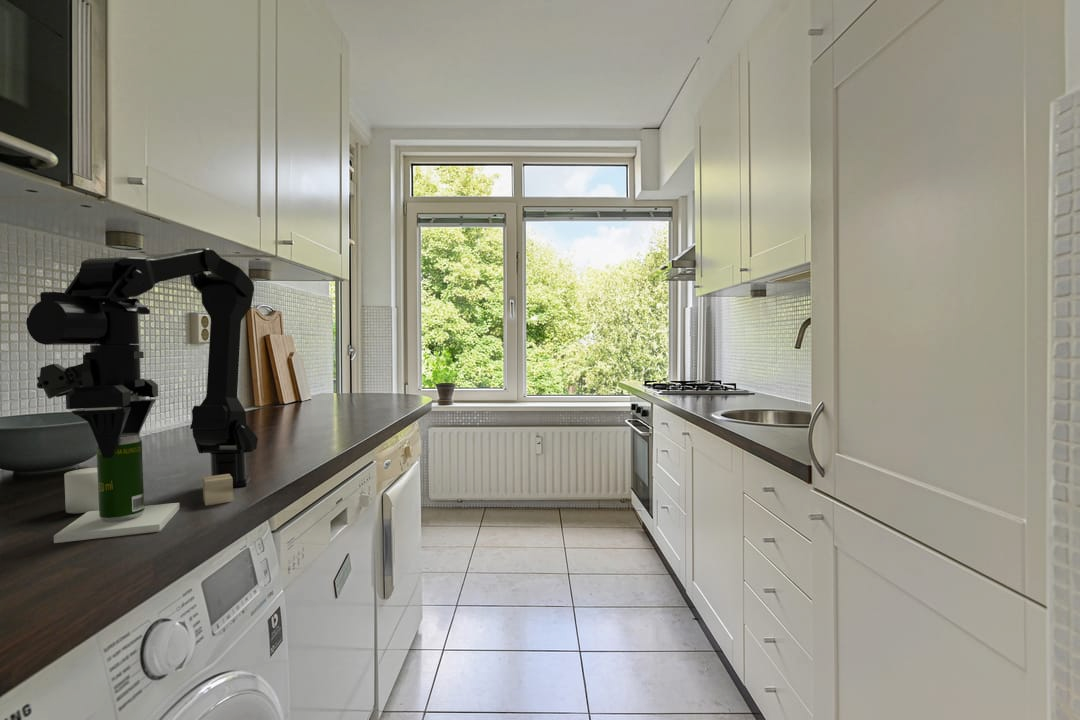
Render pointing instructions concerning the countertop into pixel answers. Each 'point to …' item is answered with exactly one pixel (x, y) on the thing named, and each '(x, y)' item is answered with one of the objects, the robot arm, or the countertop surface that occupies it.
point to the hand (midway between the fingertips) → (119, 452)
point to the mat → (117, 524)
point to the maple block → (217, 489)
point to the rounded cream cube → (81, 490)
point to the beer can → (121, 480)
